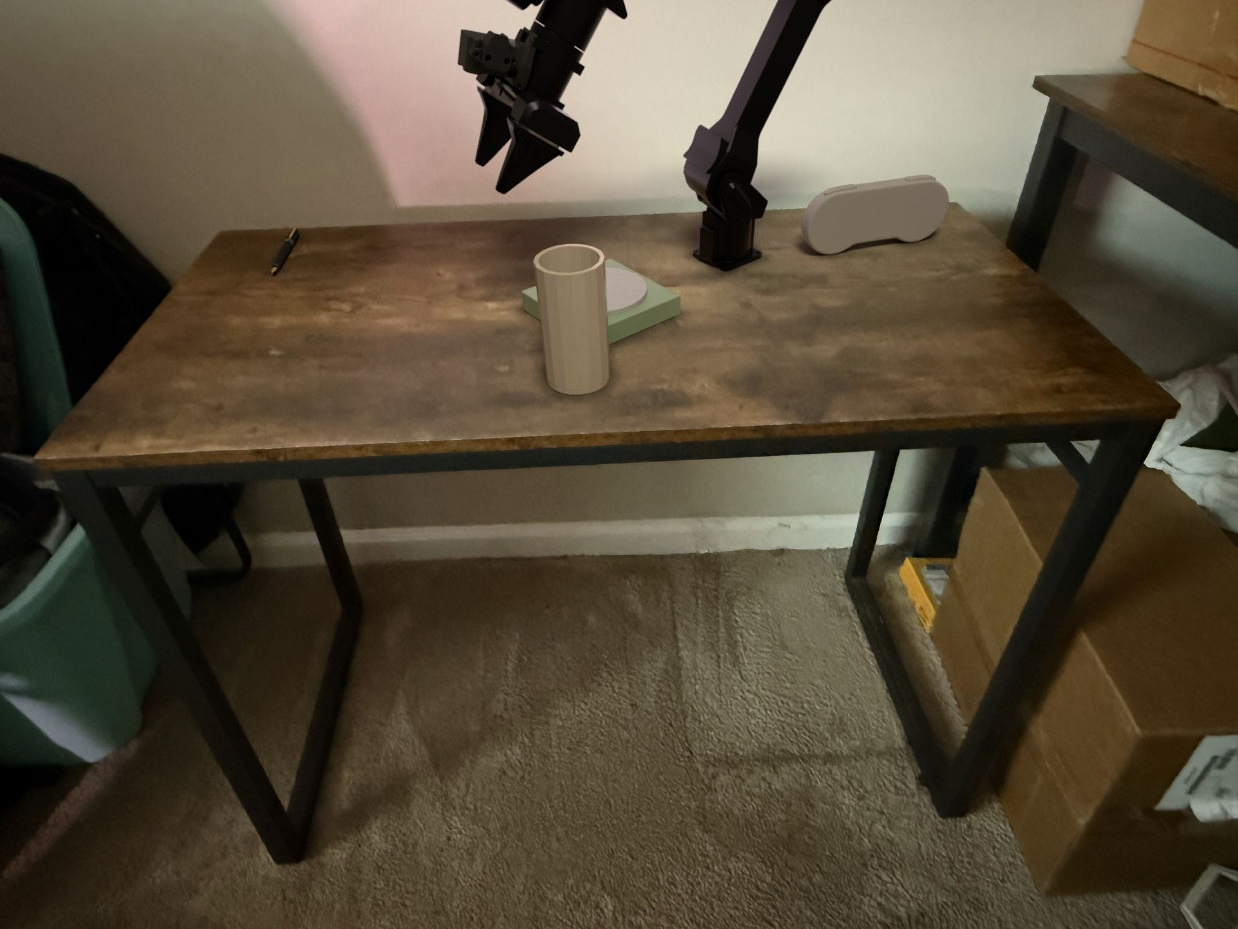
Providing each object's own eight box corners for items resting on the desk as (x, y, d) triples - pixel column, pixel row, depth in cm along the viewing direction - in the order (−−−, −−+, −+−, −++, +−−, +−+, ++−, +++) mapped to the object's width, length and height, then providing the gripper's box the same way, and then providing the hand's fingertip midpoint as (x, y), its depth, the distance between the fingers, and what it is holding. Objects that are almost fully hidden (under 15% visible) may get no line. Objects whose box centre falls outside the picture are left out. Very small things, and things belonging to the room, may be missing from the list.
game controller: (932, 231, 107) (946, 168, 102) (942, 238, 105) (956, 174, 100) (796, 252, 104) (803, 187, 98) (804, 259, 102) (811, 194, 97)
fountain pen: (277, 278, 103) (274, 267, 102) (268, 279, 103) (264, 268, 102) (302, 232, 114) (299, 222, 113) (293, 233, 114) (290, 223, 113)
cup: (585, 353, 86) (577, 237, 78) (622, 379, 82) (618, 259, 74) (534, 375, 83) (520, 257, 75) (570, 402, 79) (560, 281, 71)
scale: (611, 276, 100) (610, 253, 98) (680, 314, 92) (680, 290, 90) (523, 309, 94) (520, 286, 92) (588, 353, 86) (587, 329, 84)
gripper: (467, -24, 83) (404, 117, 89) (515, 6, 69) (437, 171, 75) (556, 35, 89) (492, 164, 95) (616, 74, 76) (537, 221, 81)
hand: (488, 177), depth 87 cm, fingers open, 9 cm apart
